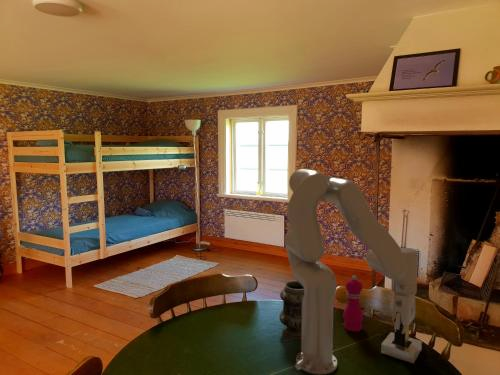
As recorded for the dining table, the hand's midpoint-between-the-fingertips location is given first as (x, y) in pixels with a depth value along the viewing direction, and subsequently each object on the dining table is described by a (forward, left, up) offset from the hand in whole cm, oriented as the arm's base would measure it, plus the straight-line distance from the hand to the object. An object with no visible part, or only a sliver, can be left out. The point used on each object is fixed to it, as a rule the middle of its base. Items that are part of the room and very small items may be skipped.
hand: (401, 340), depth 122 cm
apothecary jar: (-10, +34, -4) cm, 36 cm away
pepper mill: (+6, +19, -4) cm, 20 cm away
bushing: (0, 0, -2) cm, 2 cm away
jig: (0, 0, -4) cm, 4 cm away
